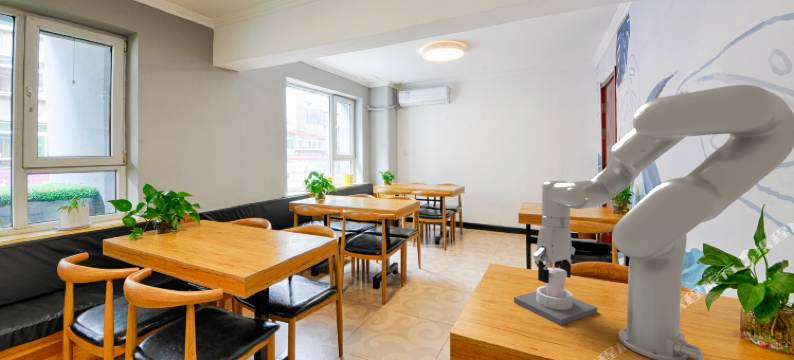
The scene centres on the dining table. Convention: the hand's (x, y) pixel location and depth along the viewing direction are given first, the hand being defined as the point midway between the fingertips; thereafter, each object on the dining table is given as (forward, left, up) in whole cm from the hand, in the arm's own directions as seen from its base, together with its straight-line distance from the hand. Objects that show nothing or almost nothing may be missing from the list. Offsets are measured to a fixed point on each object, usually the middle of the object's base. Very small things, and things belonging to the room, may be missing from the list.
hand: (554, 278), depth 93 cm
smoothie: (0, 0, -7) cm, 7 cm away
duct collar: (0, 0, -9) cm, 9 cm away
